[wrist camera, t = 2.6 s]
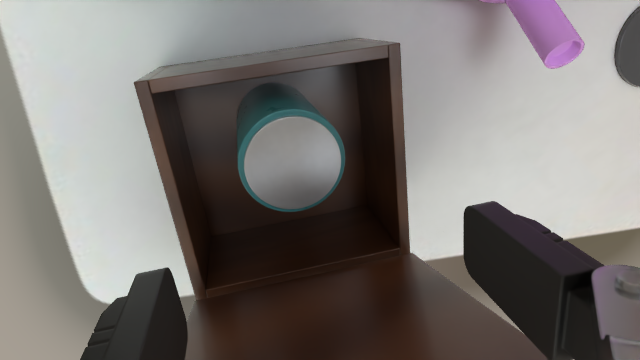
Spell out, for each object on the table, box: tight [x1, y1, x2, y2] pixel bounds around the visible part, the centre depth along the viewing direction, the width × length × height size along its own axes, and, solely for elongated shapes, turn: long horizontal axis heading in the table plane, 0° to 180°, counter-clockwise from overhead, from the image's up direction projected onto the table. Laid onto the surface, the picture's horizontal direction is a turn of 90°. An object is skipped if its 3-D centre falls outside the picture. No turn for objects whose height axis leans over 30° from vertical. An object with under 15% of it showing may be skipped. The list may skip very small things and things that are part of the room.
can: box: [236, 83, 345, 212], centre depth 25 cm, size 5×5×10 cm
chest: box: [134, 38, 410, 300], centre depth 27 cm, size 13×14×8 cm
